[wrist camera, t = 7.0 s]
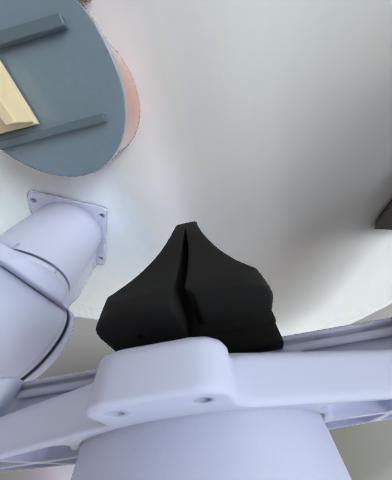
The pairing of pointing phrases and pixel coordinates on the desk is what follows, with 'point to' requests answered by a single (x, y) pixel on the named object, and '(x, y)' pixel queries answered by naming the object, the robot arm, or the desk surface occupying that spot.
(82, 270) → the robot arm
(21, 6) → the tumbler
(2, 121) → the lid slider
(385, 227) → the computer monitor
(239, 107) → the desk surface
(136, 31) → the desk surface
